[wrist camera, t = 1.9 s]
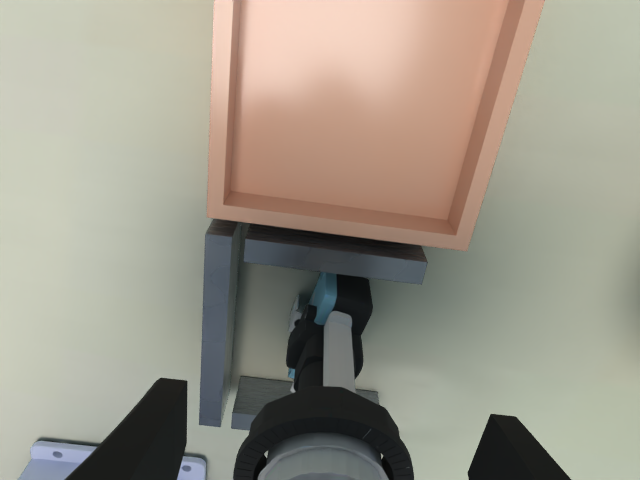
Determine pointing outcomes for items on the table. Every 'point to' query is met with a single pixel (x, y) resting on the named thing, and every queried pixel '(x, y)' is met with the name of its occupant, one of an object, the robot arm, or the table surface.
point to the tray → (362, 113)
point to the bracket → (284, 252)
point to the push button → (325, 400)
